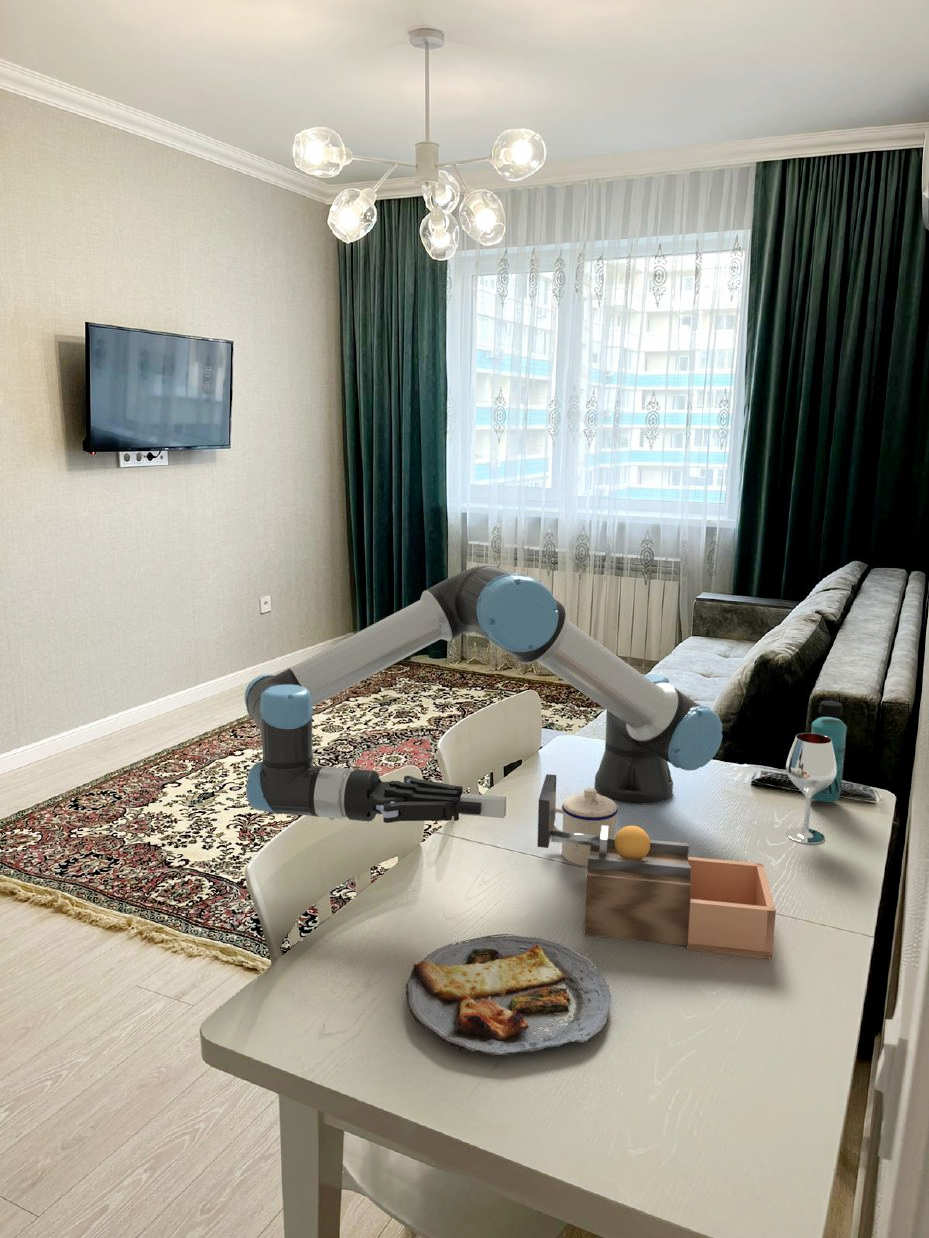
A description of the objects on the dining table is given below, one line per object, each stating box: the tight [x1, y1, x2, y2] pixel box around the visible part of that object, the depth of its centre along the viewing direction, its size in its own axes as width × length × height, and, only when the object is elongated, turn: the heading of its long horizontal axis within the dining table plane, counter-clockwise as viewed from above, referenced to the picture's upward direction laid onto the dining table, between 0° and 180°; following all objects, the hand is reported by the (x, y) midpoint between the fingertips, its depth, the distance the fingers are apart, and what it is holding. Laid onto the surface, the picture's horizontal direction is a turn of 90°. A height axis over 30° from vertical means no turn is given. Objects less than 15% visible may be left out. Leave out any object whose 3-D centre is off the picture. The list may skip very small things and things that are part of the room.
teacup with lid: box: [552, 787, 619, 867], centre depth 152 cm, size 12×9×12 cm
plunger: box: [537, 773, 609, 857], centre depth 131 cm, size 10×10×9 cm
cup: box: [686, 856, 777, 960], centre depth 129 cm, size 11×14×7 cm
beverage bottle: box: [810, 700, 848, 803], centre depth 173 cm, size 6×7×20 cm
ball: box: [615, 825, 651, 860], centre depth 130 cm, size 5×5×5 cm
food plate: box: [405, 933, 612, 1056], centre depth 112 cm, size 25×23×4 cm
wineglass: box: [785, 732, 837, 845], centre depth 158 cm, size 8×8×18 cm
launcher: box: [584, 836, 691, 947], centre depth 131 cm, size 14×12×10 cm
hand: (504, 807), depth 133 cm, fingers closed
